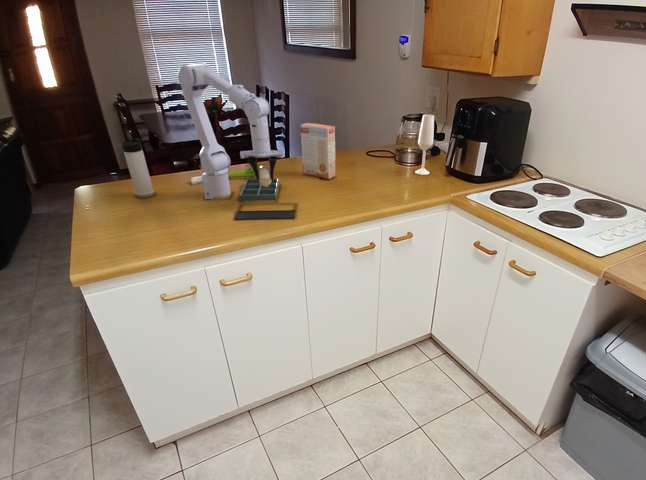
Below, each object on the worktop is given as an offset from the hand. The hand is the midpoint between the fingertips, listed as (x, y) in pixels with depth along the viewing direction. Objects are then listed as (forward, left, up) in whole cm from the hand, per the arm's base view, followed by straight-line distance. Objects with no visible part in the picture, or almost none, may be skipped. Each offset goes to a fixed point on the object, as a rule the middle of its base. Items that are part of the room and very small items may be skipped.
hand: (265, 178), depth 143 cm
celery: (-19, +28, -10) cm, 35 cm away
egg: (0, 0, -3) cm, 3 cm away
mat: (0, -6, -10) cm, 12 cm away
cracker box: (+19, +35, -10) cm, 41 cm away
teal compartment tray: (-4, +13, -10) cm, 17 cm away
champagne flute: (+66, +38, -10) cm, 77 cm away
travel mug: (-48, +13, -10) cm, 51 cm away
